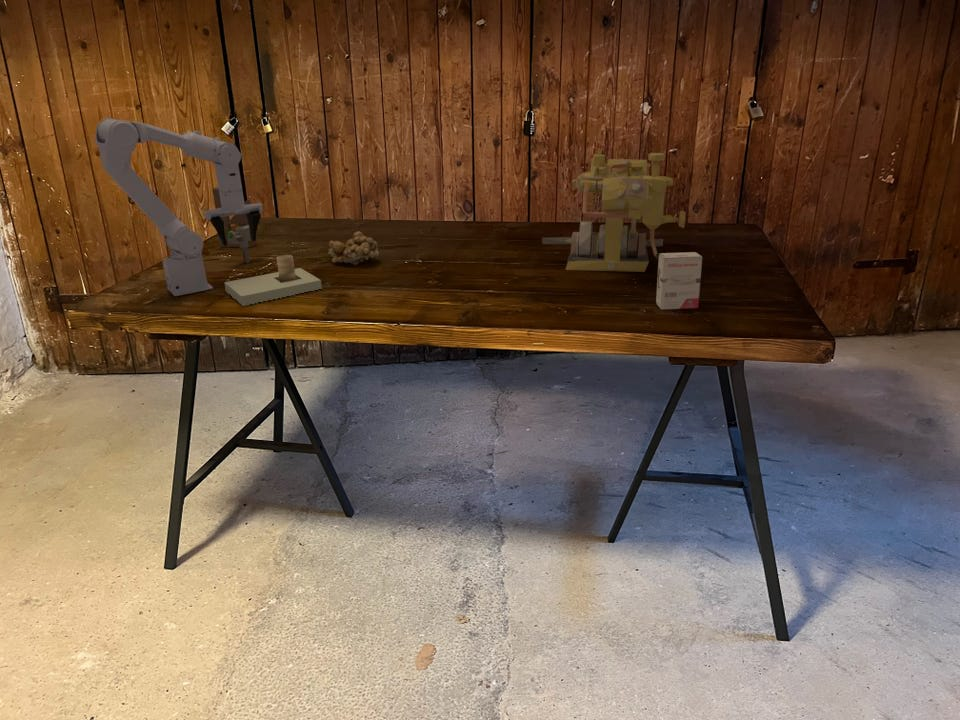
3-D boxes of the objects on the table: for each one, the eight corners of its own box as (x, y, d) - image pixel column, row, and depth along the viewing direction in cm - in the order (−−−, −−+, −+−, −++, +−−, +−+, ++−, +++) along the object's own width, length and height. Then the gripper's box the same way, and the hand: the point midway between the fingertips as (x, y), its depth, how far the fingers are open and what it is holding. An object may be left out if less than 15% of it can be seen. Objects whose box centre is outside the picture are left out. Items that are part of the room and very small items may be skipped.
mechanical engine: (683, 288, 173) (695, 160, 161) (532, 283, 180) (533, 160, 168) (676, 246, 208) (685, 139, 196) (550, 244, 215) (551, 140, 203)
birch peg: (284, 291, 180) (280, 260, 177) (278, 287, 183) (274, 257, 180) (299, 287, 182) (295, 257, 179) (293, 284, 185) (289, 254, 182)
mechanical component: (229, 266, 202) (223, 231, 198) (255, 257, 211) (250, 223, 207) (237, 267, 201) (231, 232, 197) (263, 258, 209) (258, 224, 205)
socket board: (243, 306, 170) (241, 296, 169) (225, 291, 181) (224, 282, 180) (322, 289, 180) (320, 280, 179) (301, 276, 191) (300, 267, 190)
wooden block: (252, 247, 222) (243, 188, 214) (219, 247, 223) (209, 188, 216) (257, 244, 225) (248, 186, 218) (224, 244, 226) (214, 186, 219)
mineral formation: (366, 252, 212) (393, 259, 200) (327, 269, 205) (352, 277, 194) (359, 226, 208) (385, 232, 197) (318, 242, 202) (343, 249, 190)
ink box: (691, 301, 165) (696, 250, 160) (698, 308, 160) (703, 256, 155) (654, 302, 164) (658, 252, 160) (660, 310, 160) (664, 258, 155)
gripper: (205, 196, 177) (215, 250, 182) (263, 188, 184) (271, 240, 189) (198, 192, 182) (208, 244, 187) (254, 185, 189) (262, 235, 195)
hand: (239, 242), depth 189 cm, fingers open, 7 cm apart
